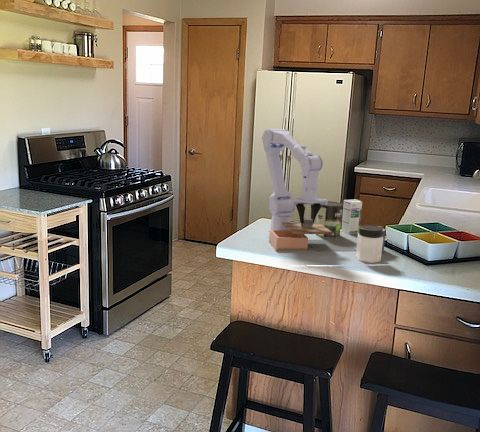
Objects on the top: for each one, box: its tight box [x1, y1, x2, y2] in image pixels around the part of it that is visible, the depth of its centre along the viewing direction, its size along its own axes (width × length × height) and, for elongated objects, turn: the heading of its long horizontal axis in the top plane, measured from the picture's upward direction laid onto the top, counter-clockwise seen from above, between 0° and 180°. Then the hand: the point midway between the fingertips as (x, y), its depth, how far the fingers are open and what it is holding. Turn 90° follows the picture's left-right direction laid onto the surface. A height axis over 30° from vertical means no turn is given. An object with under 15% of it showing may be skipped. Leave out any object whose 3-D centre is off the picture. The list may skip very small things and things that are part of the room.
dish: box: [268, 229, 309, 252], centre depth 194 cm, size 12×12×5 cm
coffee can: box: [315, 200, 344, 239], centre depth 210 cm, size 10×10×14 cm
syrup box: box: [340, 199, 363, 235], centre depth 217 cm, size 6×6×14 cm
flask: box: [377, 225, 387, 253], centre depth 189 cm, size 9×3×11 cm, turn 138°
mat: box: [308, 239, 356, 253], centre depth 197 cm, size 16×16×1 cm
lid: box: [282, 217, 332, 235], centre depth 194 cm, size 15×15×4 cm
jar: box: [355, 224, 384, 264], centre depth 180 cm, size 9×8×12 cm
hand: (306, 222), depth 193 cm, fingers closed on lid, 3 cm apart
